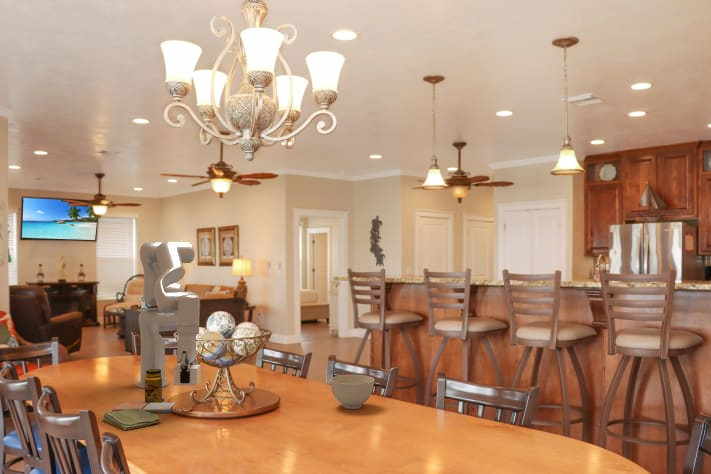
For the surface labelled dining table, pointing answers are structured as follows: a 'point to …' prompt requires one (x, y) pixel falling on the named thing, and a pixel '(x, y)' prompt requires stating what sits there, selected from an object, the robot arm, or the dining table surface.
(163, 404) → the board
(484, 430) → the dining table surface
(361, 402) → the bowl
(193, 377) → the white block
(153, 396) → the condiment
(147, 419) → the washcloth
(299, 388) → the dining table surface
